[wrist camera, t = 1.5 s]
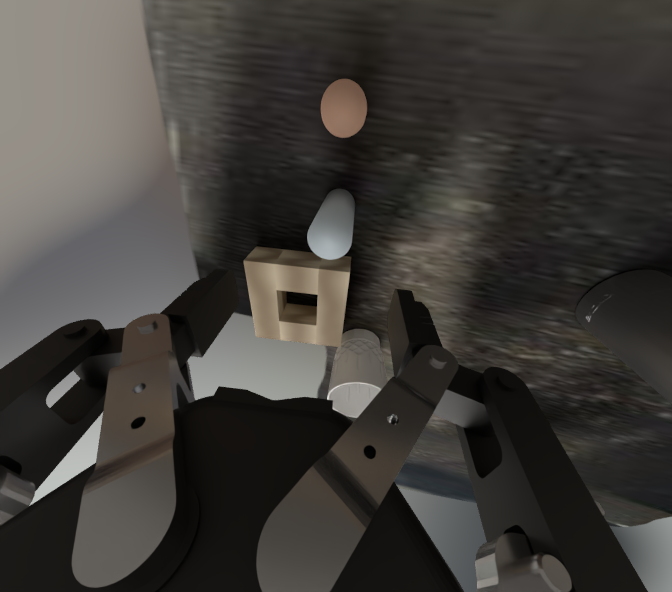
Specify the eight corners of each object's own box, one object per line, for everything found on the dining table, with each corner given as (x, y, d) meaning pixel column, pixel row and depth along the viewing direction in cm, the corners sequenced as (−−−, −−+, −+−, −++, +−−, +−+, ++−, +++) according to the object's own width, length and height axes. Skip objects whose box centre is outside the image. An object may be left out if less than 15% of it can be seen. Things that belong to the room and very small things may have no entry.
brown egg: (368, 91, 20) (370, 81, 16) (363, 138, 22) (363, 139, 18) (329, 87, 20) (321, 76, 16) (327, 134, 22) (319, 135, 18)
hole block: (351, 256, 29) (350, 272, 26) (342, 327, 36) (340, 347, 33) (256, 246, 30) (243, 260, 26) (265, 318, 37) (256, 336, 33)
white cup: (376, 363, 40) (380, 422, 32) (331, 354, 40) (323, 412, 32) (390, 330, 36) (398, 389, 28) (339, 320, 36) (332, 377, 27)
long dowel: (356, 190, 25) (354, 218, 17) (352, 222, 27) (349, 261, 19) (324, 187, 25) (307, 214, 17) (323, 219, 27) (307, 257, 19)
